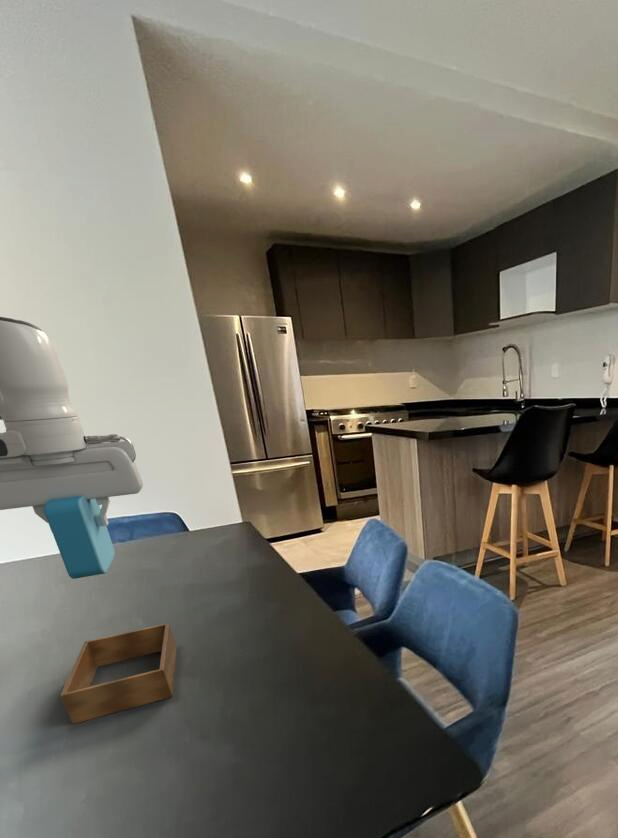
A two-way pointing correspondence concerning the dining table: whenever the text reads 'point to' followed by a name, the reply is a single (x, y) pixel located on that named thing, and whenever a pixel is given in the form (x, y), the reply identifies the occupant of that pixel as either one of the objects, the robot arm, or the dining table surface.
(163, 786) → the dining table surface
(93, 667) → the wooden box
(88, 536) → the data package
